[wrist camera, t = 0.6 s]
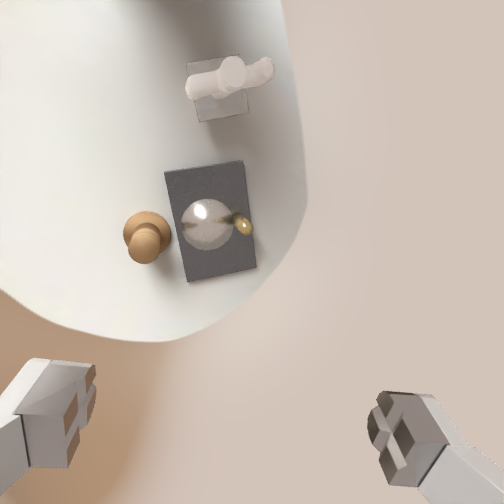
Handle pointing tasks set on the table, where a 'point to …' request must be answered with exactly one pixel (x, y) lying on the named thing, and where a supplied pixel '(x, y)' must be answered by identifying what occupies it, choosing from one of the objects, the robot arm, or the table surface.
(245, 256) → the base plate
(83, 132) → the table surface
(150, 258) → the flange hub
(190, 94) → the figurine
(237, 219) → the dowel
